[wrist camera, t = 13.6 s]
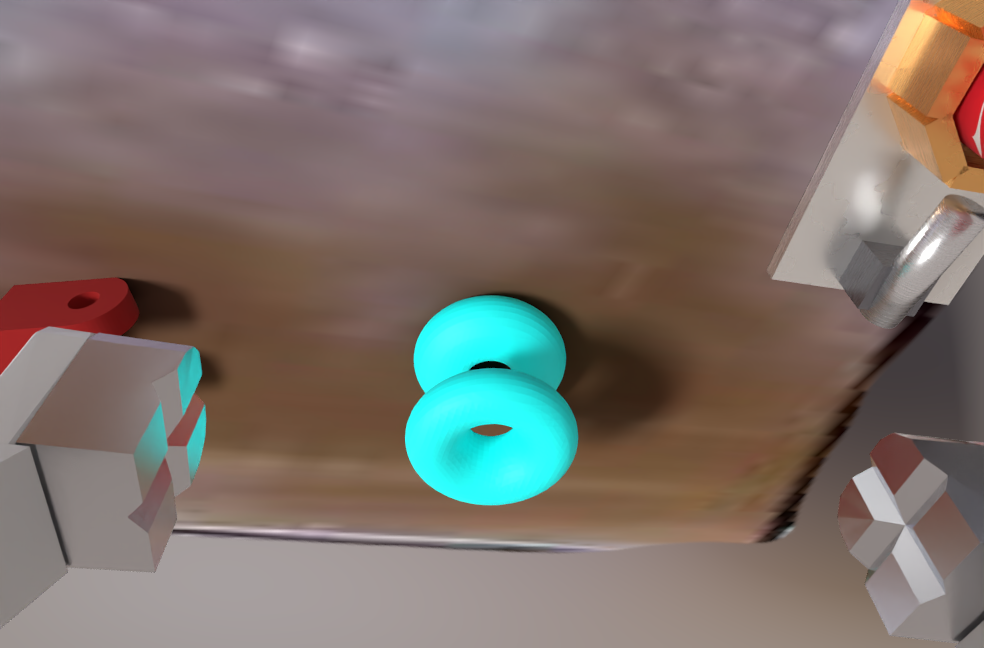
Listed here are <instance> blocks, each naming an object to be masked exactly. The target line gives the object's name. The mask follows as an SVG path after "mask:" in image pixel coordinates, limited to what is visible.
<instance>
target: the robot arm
mask: <svg viewBox="0 0 984 648" xmlns="http://www.w3.org/2000/svg"><path fill="white" fill-rule="evenodd" d="M201 376H202V369H201V361H200V354H199V351H198V350H197V349H196V348H194V347H193V346H186V345H179V344H172V343H165V342H159V341H152V340H145V339H138V338H131V337H124V336H117V335H111V334H104V333H98V334H95V333H90V332H83V331H76V330H70V329H63V328H56V327H46V328H44V329H42V330H40V331H38V332H36V333H35V334H33V336H32V337H31V338H30V339H29V341H28V342H27V343H26V344H25V345H24V347H23V348H22V349H21V350H20V352H19V353H18V354H17V355H16V357H15V358H14V359H13V360H12V362H11V363H10V364H9V365H8V366H7V368H6V369H5V370H4V371H3V373H2V374H1V375H0V629H1V628H2V627H3V626H4V625H5V624H7V623H8V622H9V621H10V620H12V619H13V618H14V617H15V616H16V615H18V614H19V613H20V612H21V611H22V610H23V609H25V608H26V607H27V606H28V605H29V604H30V603H32V602H33V601H34V600H35V599H37V598H38V597H39V596H40V595H41V594H42V593H44V592H45V591H46V590H47V589H49V588H50V587H51V586H52V585H53V584H54V583H56V582H57V581H58V580H59V579H61V578H62V577H63V576H64V575H65V574H67V573H68V570H67V567H70V568H87V569H104V570H120V571H138V572H155V571H156V569H157V566H158V564H159V562H160V559H161V557H162V555H163V552H164V550H165V547H166V545H167V542H168V540H169V538H170V535H171V533H172V531H173V528H174V526H175V523H176V521H177V513H176V505H175V496H177V495H178V494H180V493H181V492H183V491H184V490H185V489H187V488H188V487H190V486H191V484H192V481H193V479H194V476H195V474H196V471H197V468H198V466H199V462H200V458H201V454H202V449H203V445H204V440H205V428H206V413H205V404H204V403H203V402H202V401H201V400H200V398H199V397H198V396H197V395H196V394H195V393H194V392H195V389H196V387H197V385H198V383H199V381H200V378H201ZM870 457H871V463H872V467H871V468H870V469H868V470H866V471H864V472H862V473H860V474H858V475H856V476H855V477H853V478H852V479H851V480H850V482H849V483H848V485H847V486H846V488H845V490H844V491H843V493H842V494H841V496H840V502H839V510H838V522H839V527H840V532H841V535H842V538H843V539H844V542H845V544H846V546H847V548H848V550H849V552H850V553H851V554H852V555H853V556H854V557H856V558H857V559H858V560H859V561H860V562H861V563H862V564H863V565H864V566H866V567H867V568H868V573H867V577H866V581H865V586H866V588H867V590H868V592H869V594H870V596H871V598H872V600H873V602H874V604H875V606H876V608H877V610H878V612H879V614H880V617H881V619H882V621H883V623H884V625H885V627H886V629H887V631H888V633H889V635H890V636H898V637H907V638H915V639H924V640H933V641H941V642H951V643H958V644H957V645H956V646H955V647H956V648H984V442H975V441H970V442H966V441H960V440H952V439H944V438H935V437H926V436H918V435H909V434H900V433H892V434H890V435H888V436H887V437H885V438H883V439H881V440H880V441H879V442H878V444H877V445H876V446H875V448H874V449H873V450H872V452H871V453H870Z"/></svg>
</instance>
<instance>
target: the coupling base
mask: <svg viewBox="0 0 984 648" xmlns="http://www.w3.org/2000/svg"><path fill="white" fill-rule="evenodd" d="M983 63H984V0H899V1H898V3H897V5H896V7H895V9H894V11H893V13H892V15H891V17H890V19H889V21H888V23H887V25H886V27H885V30H884V32H883V34H882V36H881V38H880V40H879V42H878V44H877V46H876V48H875V50H874V52H873V54H872V56H871V58H870V60H869V62H868V64H867V66H866V68H865V70H864V72H863V74H862V76H861V78H860V80H859V82H858V84H857V87H856V89H855V91H854V93H853V95H852V97H851V99H850V101H849V103H848V105H847V107H846V109H845V111H844V113H843V115H842V117H841V119H840V121H839V123H838V125H837V127H836V129H835V131H834V133H833V135H832V137H831V139H830V142H829V144H828V146H827V148H826V150H825V152H824V154H823V156H822V158H821V160H820V162H819V164H818V166H817V168H816V170H815V172H814V174H813V176H812V178H811V180H810V182H809V184H808V186H807V188H806V190H805V192H804V194H803V197H802V199H801V201H800V203H799V205H798V207H797V209H796V211H795V213H794V215H793V217H792V219H791V221H790V223H789V225H788V227H787V229H786V231H785V233H784V235H783V237H782V239H781V241H780V243H779V245H778V247H777V249H776V251H775V254H774V256H773V258H772V260H771V262H770V264H769V266H768V268H767V272H768V274H769V275H770V277H771V279H775V280H781V281H788V282H795V283H802V284H809V285H816V286H822V287H829V288H836V289H843V290H845V291H846V293H847V294H848V296H849V297H850V298H851V300H852V301H853V302H854V304H855V305H856V307H857V308H858V309H860V312H861V313H862V315H863V316H864V317H865V318H866V319H867V320H868V321H870V322H871V323H873V324H875V325H877V326H879V327H882V328H894V327H896V326H897V325H898V324H899V323H900V322H901V320H902V319H903V318H904V317H905V316H906V315H907V316H915V314H916V313H917V311H918V310H919V308H920V307H921V305H922V304H923V302H924V301H925V302H932V303H938V304H945V305H949V304H950V302H951V301H952V299H953V298H954V296H955V295H956V294H957V292H958V291H959V289H960V288H961V286H962V285H963V284H964V282H965V281H966V279H967V278H968V276H969V275H970V274H971V272H972V271H973V269H974V268H975V266H976V265H977V264H978V262H979V261H980V259H981V258H982V256H983V255H984V159H983V158H981V157H980V156H979V155H977V154H976V153H975V152H973V151H972V150H971V149H969V148H968V147H967V146H965V145H964V144H963V143H961V142H960V140H959V136H958V133H957V130H956V127H955V123H954V120H953V117H952V115H953V114H954V112H955V110H956V109H957V107H958V105H959V104H960V102H961V100H962V98H963V97H964V95H965V93H966V92H967V90H968V88H969V87H970V85H971V83H972V81H973V80H974V78H975V76H976V75H977V73H978V71H979V70H980V68H981V66H982V64H983Z"/></svg>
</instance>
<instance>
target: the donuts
mask: <svg viewBox="0 0 984 648" xmlns="http://www.w3.org/2000/svg"><path fill="white" fill-rule="evenodd" d="M485 361H497V362H501V363H504V364H506V365H507V366H509V367H510V368H511V370H510V369H502V368H484V369H475V370H470V369H471V367H473V366H474V365H476V364H478V363H481V362H485ZM565 366H566V351H565V346H564V342H563V339H562V337H561V334H560V333H559V331H558V329H557V328H556V326H555V325H554V323H553V322H552V321H551V320H550V319H549V318H548V317H547V316H546V315H545V314H544V313H543V312H541V311H540V310H538V309H537V308H535V307H534V306H532V305H530V304H528V303H526V302H524V301H521V300H518V299H515V298H511V297H506V296H498V295H484V296H475V297H470V298H467V299H463V300H460V301H458V302H455V303H453V304H451V305H449V306H447V307H446V308H444V309H443V310H441V311H440V312H438V313H437V314H436V315H435V316H434V317H433V318H431V319H430V321H429V322H428V323H427V324H426V325H425V327H424V328H423V330H422V332H421V334H420V336H419V338H418V340H417V343H416V347H415V352H414V367H415V372H416V376H417V379H418V381H419V383H420V385H421V387H422V389H423V390H424V392H425V394H424V396H423V397H422V398H421V399H420V400H419V401H418V403H417V404H416V405H415V407H414V409H413V410H412V412H411V415H410V417H409V420H408V423H407V427H406V435H405V443H406V449H407V453H408V457H409V459H410V462H411V464H412V466H413V467H414V469H415V471H416V472H417V473H418V475H419V476H420V477H421V478H422V479H423V480H424V481H425V482H426V483H427V484H428V485H430V486H431V487H432V488H434V489H435V490H437V491H438V492H440V493H442V494H444V495H446V496H448V497H450V498H453V499H456V500H459V501H462V502H466V503H471V504H478V505H502V504H510V503H515V502H519V501H523V500H526V499H529V498H531V497H533V496H536V495H538V494H540V493H541V492H543V491H545V490H547V489H548V488H550V487H551V486H552V485H554V484H555V483H556V482H557V481H558V480H559V479H560V478H561V477H562V476H563V475H564V474H565V473H566V471H567V470H568V468H569V467H570V465H571V463H572V461H573V459H574V457H575V454H576V450H577V445H578V429H577V423H576V420H575V417H574V415H573V412H572V410H571V408H570V407H569V405H568V403H567V402H566V401H565V399H564V398H563V397H562V396H561V395H560V394H559V393H558V392H557V391H556V390H557V388H558V386H559V384H560V382H561V380H562V378H563V375H564V371H565ZM469 370H470V371H469ZM485 424H501V425H506V426H510V427H512V428H513V429H512V430H510V431H509V432H507V433H505V434H502V435H498V436H483V435H480V434H477V433H475V432H473V431H472V430H471V428H473V427H476V426H479V425H485Z"/></svg>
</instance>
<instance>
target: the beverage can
mask: <svg viewBox="0 0 984 648" xmlns="http://www.w3.org/2000/svg"><path fill="white" fill-rule="evenodd" d="M952 117H953V120H954V123H955V127H956V130H957V133H958V136H959V140H960V142H961V143H963V144H964V145H965V146H967V147H968V148H969V149H971V150H972V151H973V152H975V153H976V154H977V155H979V156H980V157H981V158H983V159H984V63H983V64H982V66H981V68H980V70H979V71H978V73H977V75H976V76H975V78H974V80H973V81H972V83H971V85H970V87H969V88H968V90H967V92H966V93H965V95H964V97H963V98H962V100H961V102H960V104H959V105H958V107H957V109H956V110H955V112H954V114H953V115H952Z"/></svg>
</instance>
